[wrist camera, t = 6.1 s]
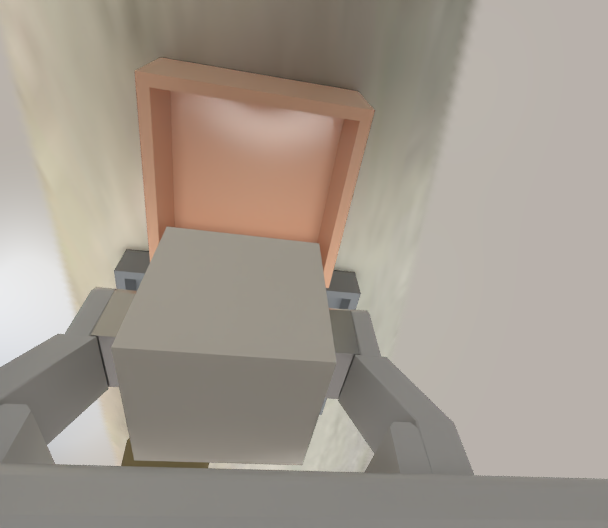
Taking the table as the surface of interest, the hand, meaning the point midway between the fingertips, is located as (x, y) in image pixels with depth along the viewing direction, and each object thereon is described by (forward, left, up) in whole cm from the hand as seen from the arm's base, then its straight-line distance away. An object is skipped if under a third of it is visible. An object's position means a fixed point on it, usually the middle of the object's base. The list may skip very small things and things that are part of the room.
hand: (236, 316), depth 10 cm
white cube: (0, 0, -1) cm, 1 cm away
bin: (+2, 0, -16) cm, 16 cm away
